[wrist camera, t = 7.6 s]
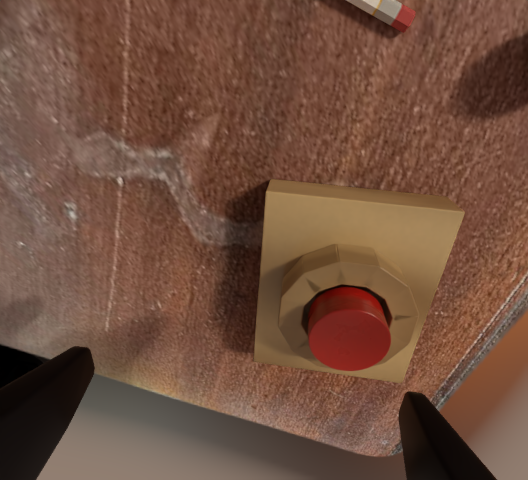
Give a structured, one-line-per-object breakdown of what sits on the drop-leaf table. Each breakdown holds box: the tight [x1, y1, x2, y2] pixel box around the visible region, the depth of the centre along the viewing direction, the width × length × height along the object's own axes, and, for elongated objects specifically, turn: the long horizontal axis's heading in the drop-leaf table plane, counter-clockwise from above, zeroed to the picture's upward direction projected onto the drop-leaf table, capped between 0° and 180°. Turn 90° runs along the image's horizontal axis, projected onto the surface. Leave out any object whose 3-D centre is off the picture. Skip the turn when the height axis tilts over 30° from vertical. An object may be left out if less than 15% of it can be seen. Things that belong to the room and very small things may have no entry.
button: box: [308, 287, 391, 371], centre depth 15 cm, size 4×4×2 cm
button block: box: [253, 179, 465, 383], centre depth 18 cm, size 11×9×4 cm
